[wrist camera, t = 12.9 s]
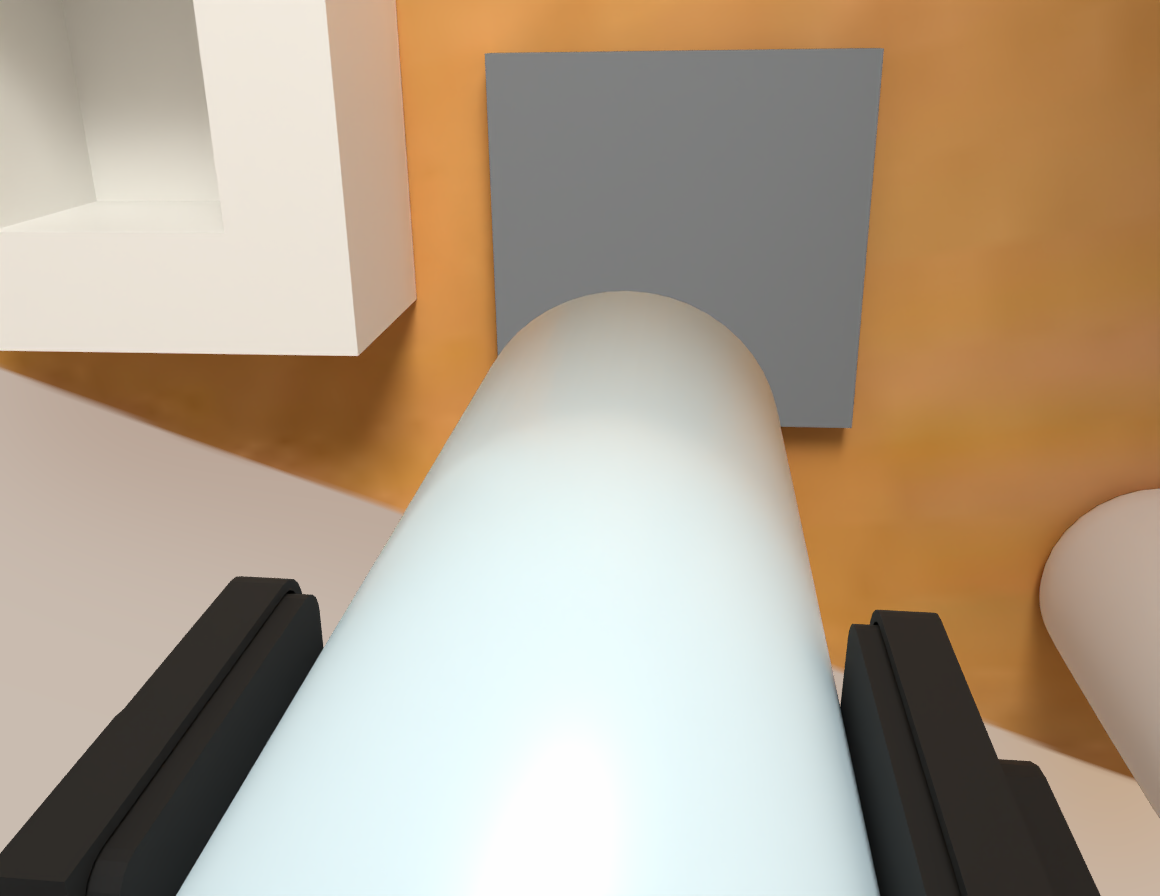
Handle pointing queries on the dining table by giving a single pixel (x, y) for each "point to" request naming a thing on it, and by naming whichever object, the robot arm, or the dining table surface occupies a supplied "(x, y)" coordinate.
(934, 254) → the dining table surface
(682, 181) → the mat
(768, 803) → the cartridge
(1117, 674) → the milk bottle
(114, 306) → the housing
